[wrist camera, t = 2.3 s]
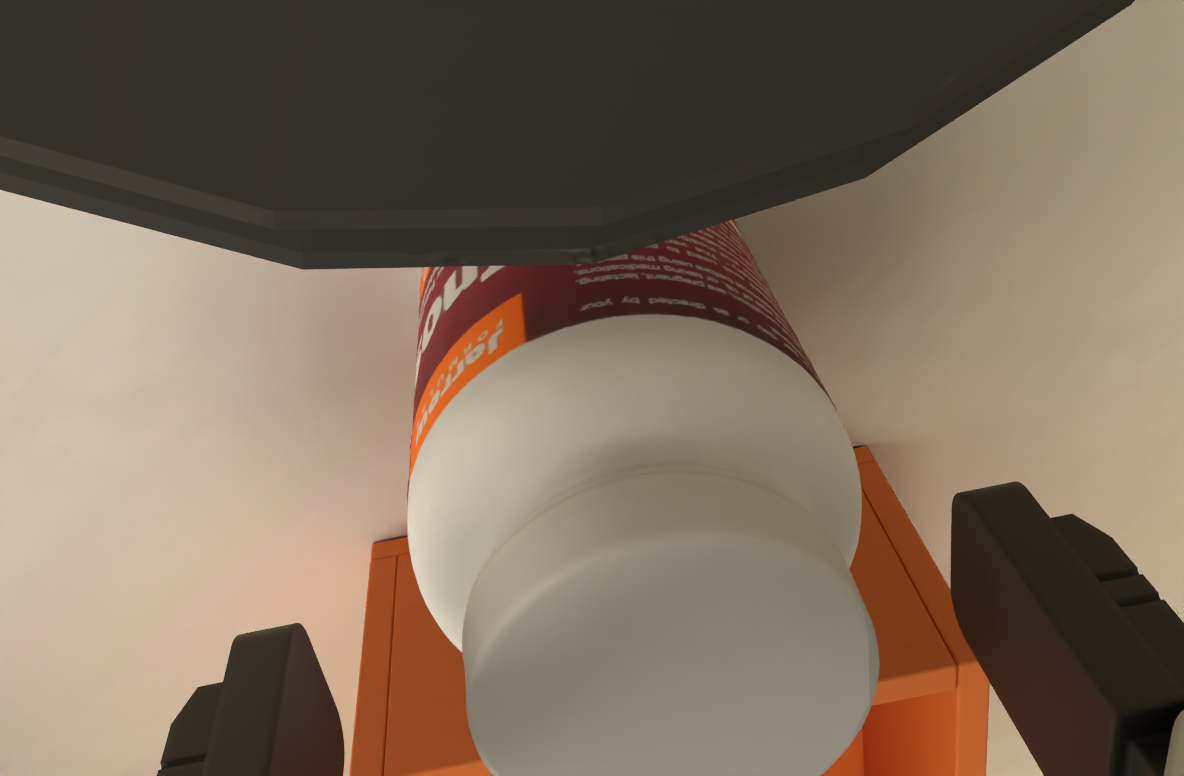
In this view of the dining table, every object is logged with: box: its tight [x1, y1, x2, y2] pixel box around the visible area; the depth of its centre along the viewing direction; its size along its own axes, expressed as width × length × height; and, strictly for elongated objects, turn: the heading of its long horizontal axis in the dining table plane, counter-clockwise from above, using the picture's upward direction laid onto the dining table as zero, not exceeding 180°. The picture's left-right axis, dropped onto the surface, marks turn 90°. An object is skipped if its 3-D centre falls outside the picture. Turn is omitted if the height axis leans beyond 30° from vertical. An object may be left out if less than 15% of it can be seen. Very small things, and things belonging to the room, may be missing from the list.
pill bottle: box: [407, 220, 880, 776], centre depth 17 cm, size 6×6×11 cm
